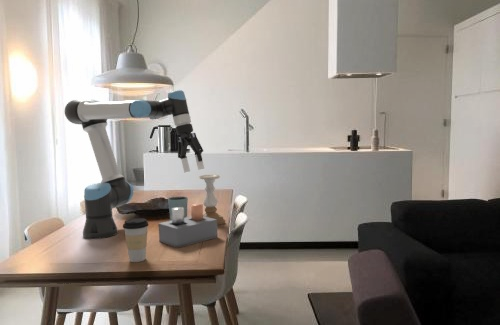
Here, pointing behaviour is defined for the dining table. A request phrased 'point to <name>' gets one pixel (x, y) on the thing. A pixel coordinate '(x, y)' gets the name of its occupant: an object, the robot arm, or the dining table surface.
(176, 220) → the silver rounded piece
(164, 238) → the block with square holes
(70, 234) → the dining table surface
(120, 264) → the dining table surface
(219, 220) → the candle holder
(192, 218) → the brown egg
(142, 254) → the coffee cup
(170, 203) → the drinking glass
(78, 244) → the dining table surface
